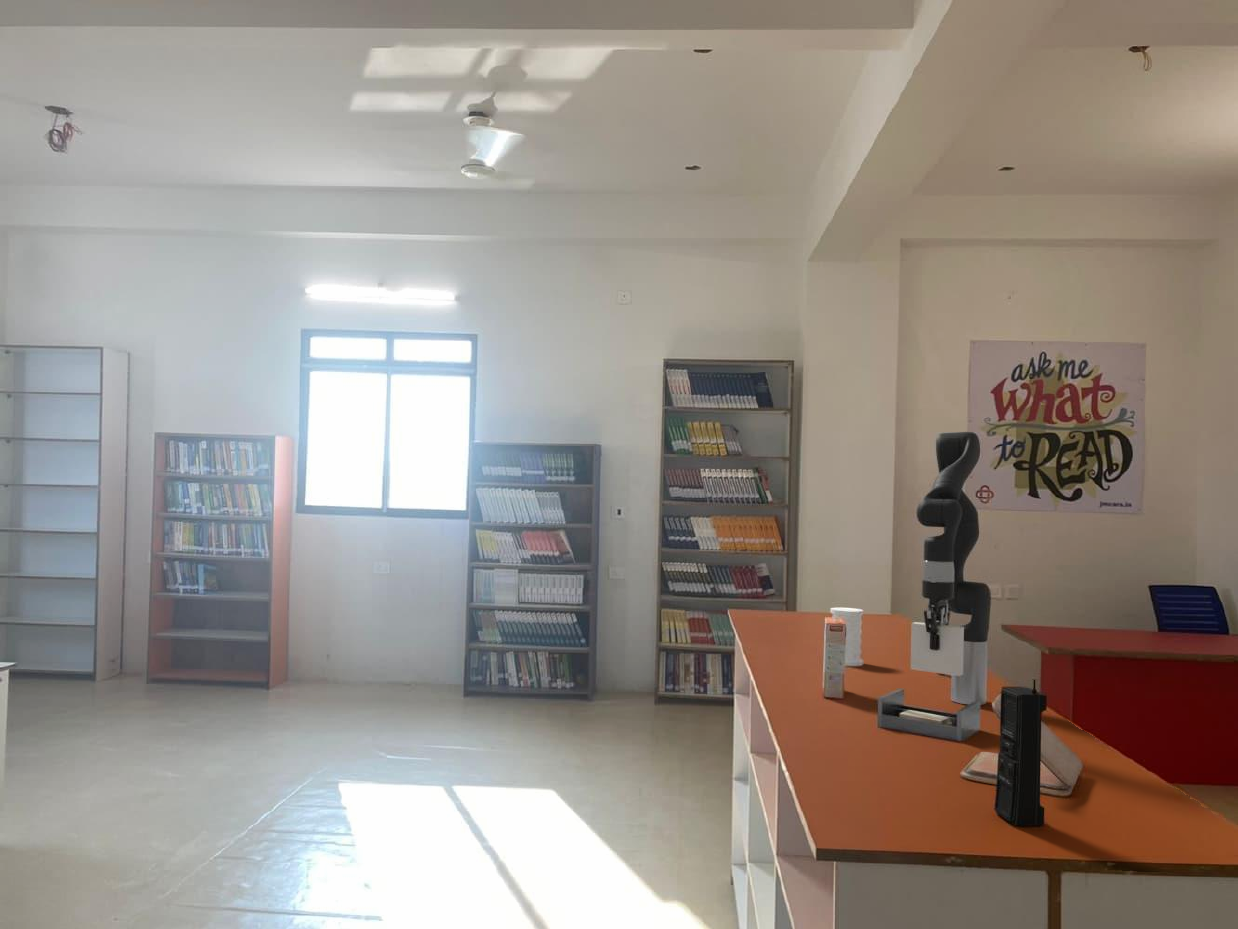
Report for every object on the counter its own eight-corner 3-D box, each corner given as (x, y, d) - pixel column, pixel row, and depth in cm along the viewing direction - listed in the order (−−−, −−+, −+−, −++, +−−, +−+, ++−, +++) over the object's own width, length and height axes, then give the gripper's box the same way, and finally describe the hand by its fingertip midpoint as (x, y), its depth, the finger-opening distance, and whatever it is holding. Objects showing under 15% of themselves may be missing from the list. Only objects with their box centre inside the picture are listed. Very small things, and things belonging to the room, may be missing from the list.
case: (1072, 801, 177) (1074, 715, 177) (956, 779, 188) (959, 699, 189) (1084, 776, 194) (1086, 698, 195) (977, 758, 205) (980, 684, 206)
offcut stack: (907, 725, 233) (908, 709, 233) (952, 733, 226) (953, 717, 226) (897, 730, 228) (898, 713, 228) (944, 738, 221) (944, 721, 221)
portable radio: (989, 811, 169) (992, 671, 170) (1021, 811, 169) (1024, 671, 170) (1011, 826, 161) (1014, 680, 162) (1045, 827, 162) (1047, 680, 162)
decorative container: (867, 666, 311) (868, 612, 311) (832, 665, 311) (833, 611, 312) (858, 660, 322) (859, 607, 323) (824, 659, 323) (826, 606, 323)
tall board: (914, 667, 238) (915, 622, 238) (963, 674, 231) (963, 627, 231) (910, 669, 236) (911, 623, 236) (959, 676, 228) (960, 628, 229)
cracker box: (845, 700, 259) (847, 623, 259) (822, 698, 260) (824, 622, 260) (843, 689, 272) (845, 617, 273) (822, 688, 274) (824, 616, 274)
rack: (899, 716, 241) (900, 688, 241) (980, 730, 229) (980, 701, 229) (877, 726, 229) (878, 697, 229) (960, 741, 217) (961, 711, 217)
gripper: (932, 576, 242) (931, 643, 241) (913, 579, 230) (912, 650, 230) (962, 578, 237) (961, 647, 237) (944, 582, 226) (943, 654, 225)
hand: (936, 648), depth 233 cm, fingers closed on tall board, 3 cm apart
